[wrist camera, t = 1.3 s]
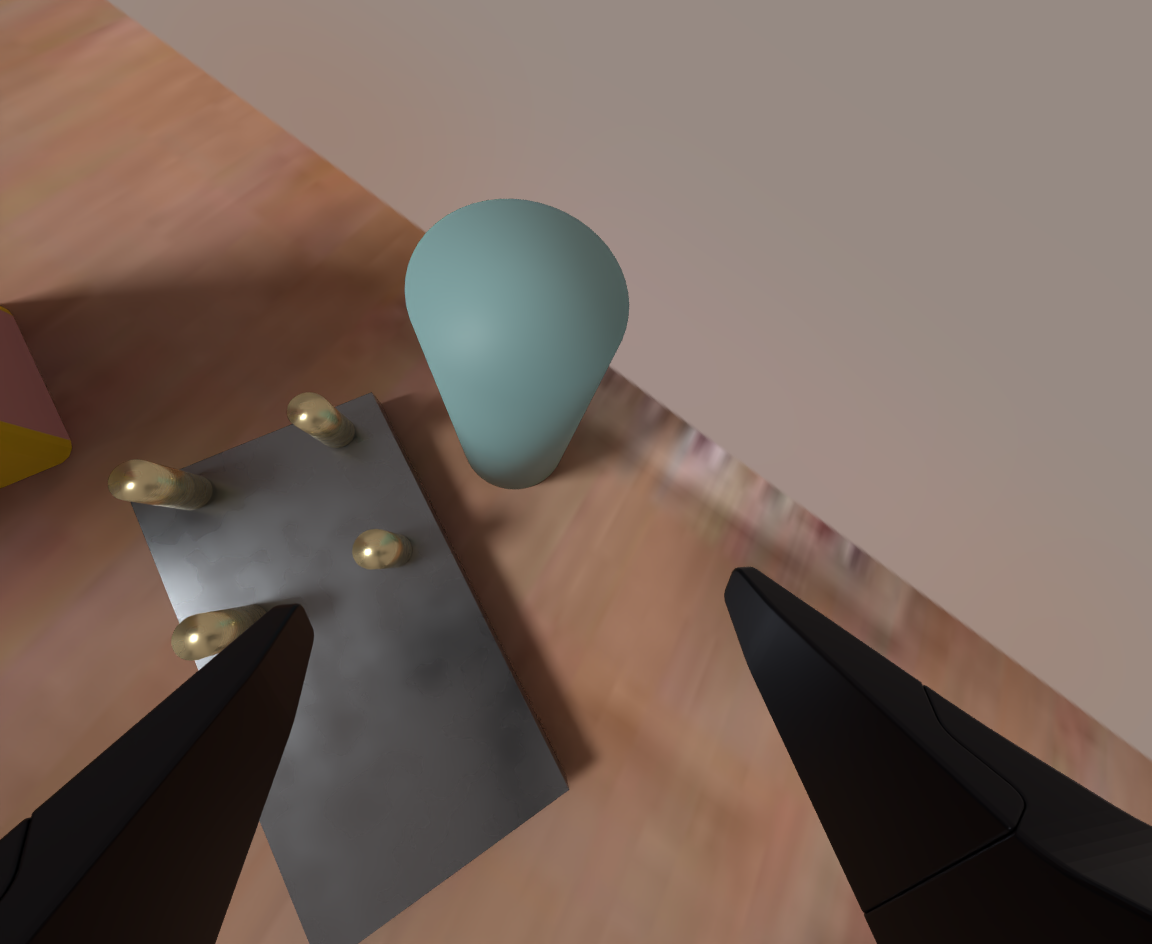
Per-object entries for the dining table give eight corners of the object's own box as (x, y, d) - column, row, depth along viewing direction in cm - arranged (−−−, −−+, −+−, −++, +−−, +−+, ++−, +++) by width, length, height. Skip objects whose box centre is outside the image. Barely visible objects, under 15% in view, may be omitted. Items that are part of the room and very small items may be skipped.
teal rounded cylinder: (581, 461, 23) (667, 344, 11) (491, 507, 22) (469, 434, 9) (535, 378, 24) (565, 175, 11) (445, 417, 22) (365, 236, 10)
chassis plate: (564, 772, 20) (580, 832, 15) (336, 936, 17) (277, 1064, 13) (380, 403, 22) (349, 364, 18) (154, 496, 19) (52, 477, 15)
